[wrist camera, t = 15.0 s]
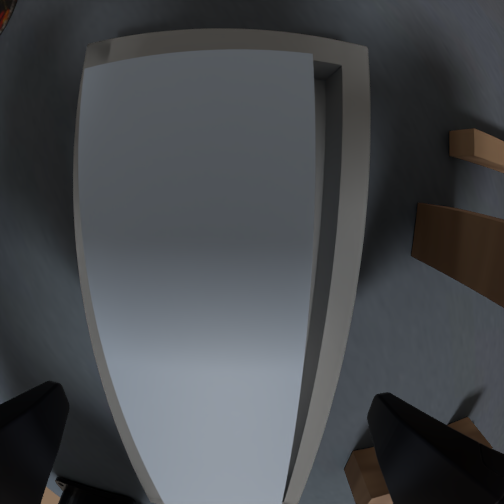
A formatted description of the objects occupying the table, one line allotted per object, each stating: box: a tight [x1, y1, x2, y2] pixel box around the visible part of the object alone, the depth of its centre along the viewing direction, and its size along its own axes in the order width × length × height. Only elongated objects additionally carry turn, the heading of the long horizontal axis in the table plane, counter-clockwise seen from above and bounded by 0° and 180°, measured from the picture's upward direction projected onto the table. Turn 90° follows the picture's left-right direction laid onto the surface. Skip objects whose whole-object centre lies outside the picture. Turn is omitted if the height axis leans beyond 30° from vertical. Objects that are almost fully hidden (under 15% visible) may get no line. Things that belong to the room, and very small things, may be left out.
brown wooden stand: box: [344, 128, 504, 504], centre depth 9 cm, size 9×18×5 cm, turn 178°
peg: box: [78, 49, 315, 504], centre depth 8 cm, size 4×16×4 cm, turn 0°
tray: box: [73, 28, 371, 504], centre depth 9 cm, size 8×20×2 cm, turn 178°
